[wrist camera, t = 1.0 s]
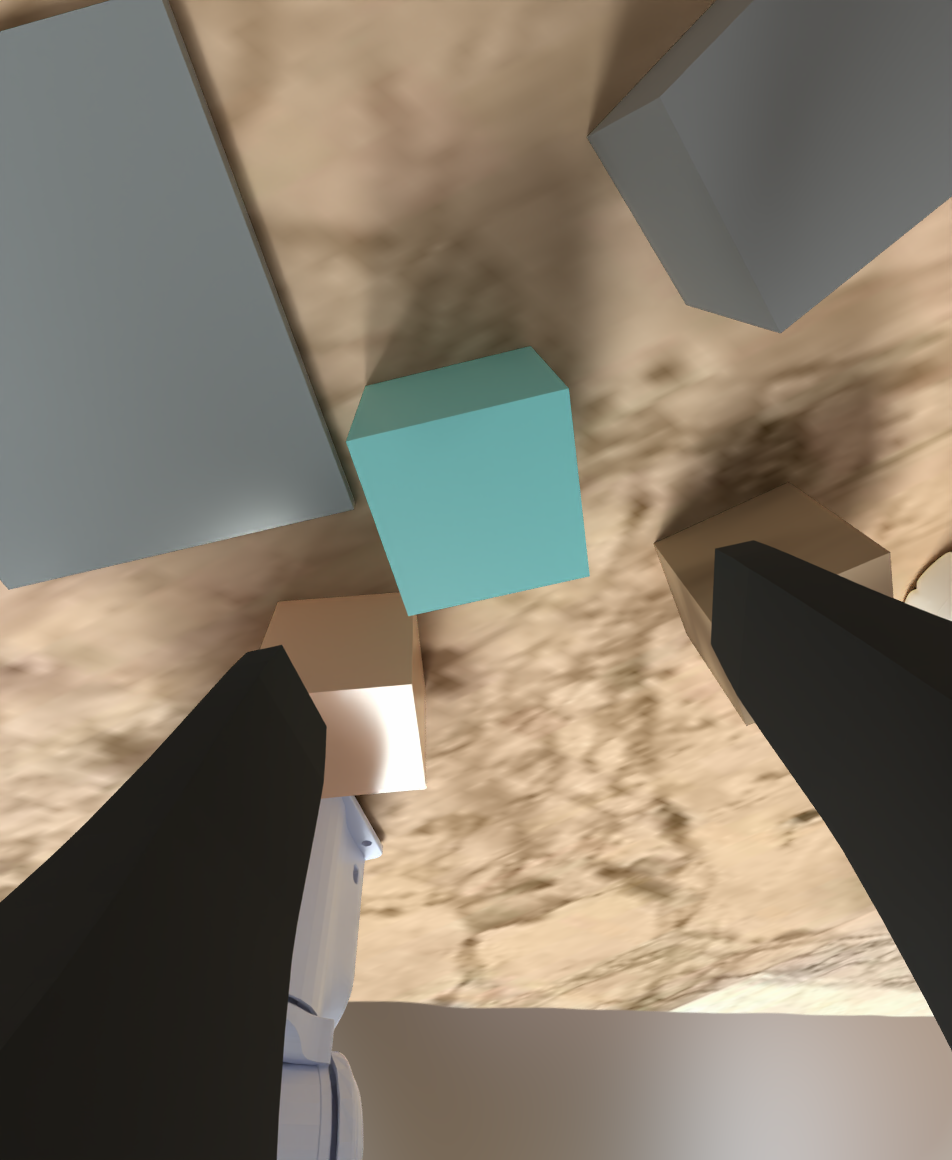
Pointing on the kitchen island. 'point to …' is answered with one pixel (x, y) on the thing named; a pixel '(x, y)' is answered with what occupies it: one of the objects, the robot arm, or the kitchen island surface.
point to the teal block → (472, 479)
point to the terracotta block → (360, 687)
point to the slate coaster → (136, 313)
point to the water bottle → (935, 589)
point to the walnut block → (779, 524)
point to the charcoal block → (785, 147)
